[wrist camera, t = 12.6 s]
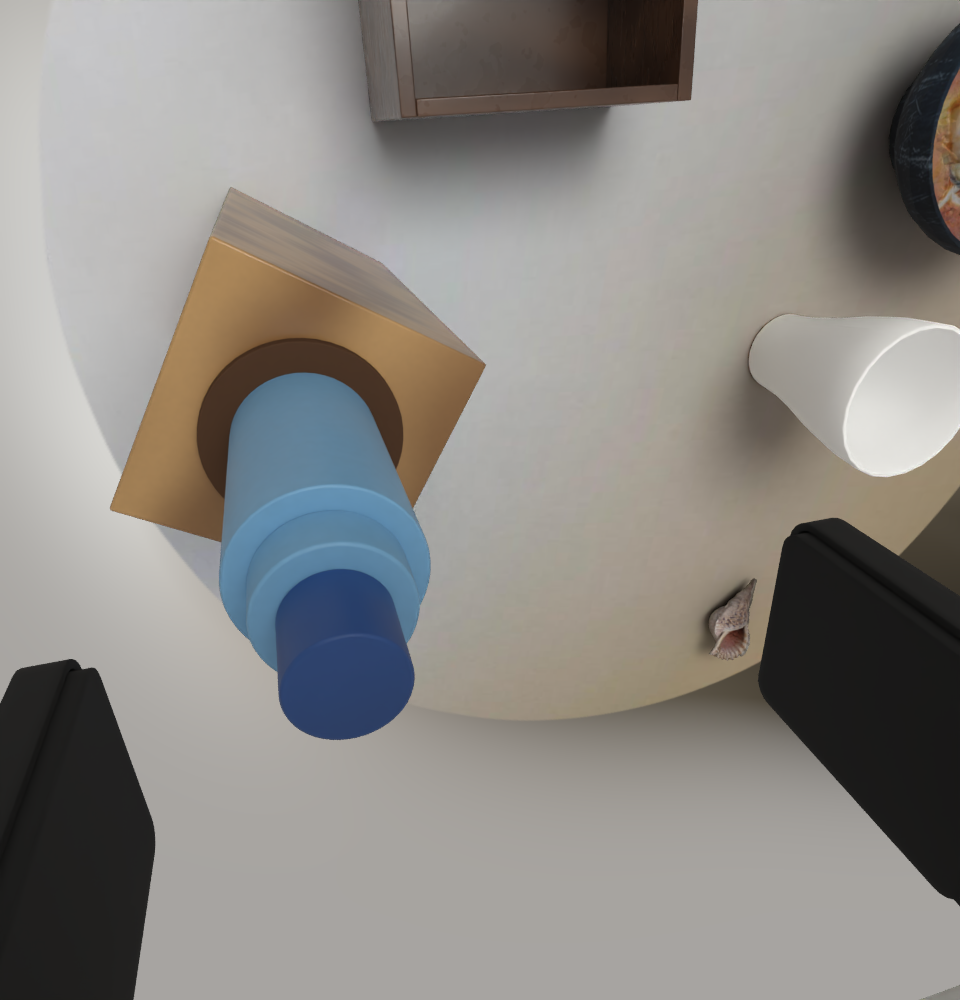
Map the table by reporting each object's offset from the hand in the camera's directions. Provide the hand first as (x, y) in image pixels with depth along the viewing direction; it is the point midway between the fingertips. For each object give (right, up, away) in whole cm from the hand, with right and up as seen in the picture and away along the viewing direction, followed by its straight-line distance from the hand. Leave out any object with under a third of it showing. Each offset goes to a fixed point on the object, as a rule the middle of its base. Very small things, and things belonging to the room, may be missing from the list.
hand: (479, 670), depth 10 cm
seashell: (+24, -9, +60) cm, 65 cm away
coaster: (-6, +5, +16) cm, 17 cm away
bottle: (-6, +4, +15) cm, 17 cm away
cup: (+24, +15, +49) cm, 56 cm away
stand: (-13, +15, +36) cm, 41 cm away
